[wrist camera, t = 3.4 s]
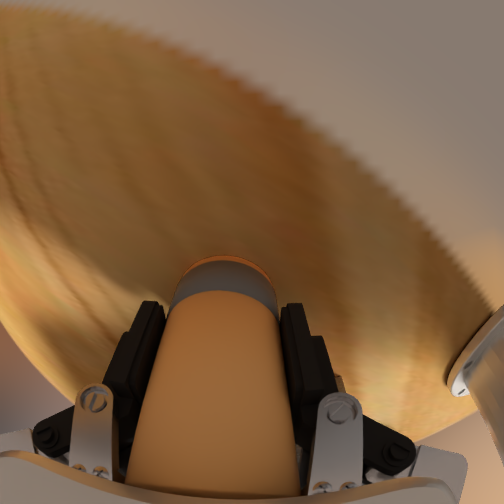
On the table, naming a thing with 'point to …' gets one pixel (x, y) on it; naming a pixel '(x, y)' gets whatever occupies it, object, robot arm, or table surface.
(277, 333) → the orange cylinder
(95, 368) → the table surface
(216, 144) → the table surface
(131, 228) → the table surface
